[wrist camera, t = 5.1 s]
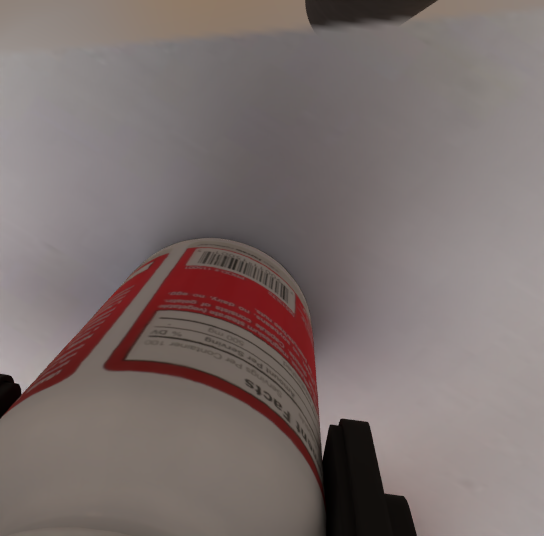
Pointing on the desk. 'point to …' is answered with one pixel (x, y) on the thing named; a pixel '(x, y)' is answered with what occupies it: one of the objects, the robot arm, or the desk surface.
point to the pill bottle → (175, 409)
